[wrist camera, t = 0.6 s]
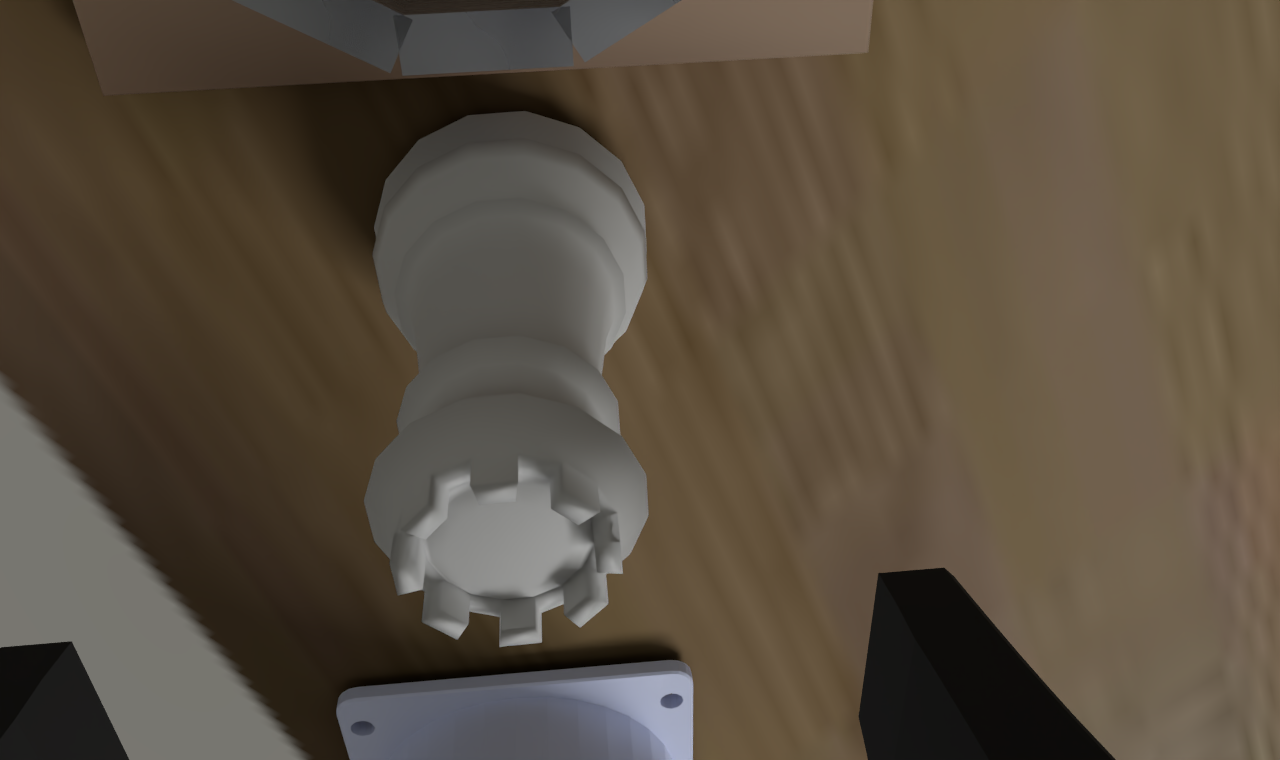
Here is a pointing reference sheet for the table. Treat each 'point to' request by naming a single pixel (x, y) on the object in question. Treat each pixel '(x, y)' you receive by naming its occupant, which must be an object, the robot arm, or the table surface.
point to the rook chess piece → (508, 372)
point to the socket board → (440, 37)
